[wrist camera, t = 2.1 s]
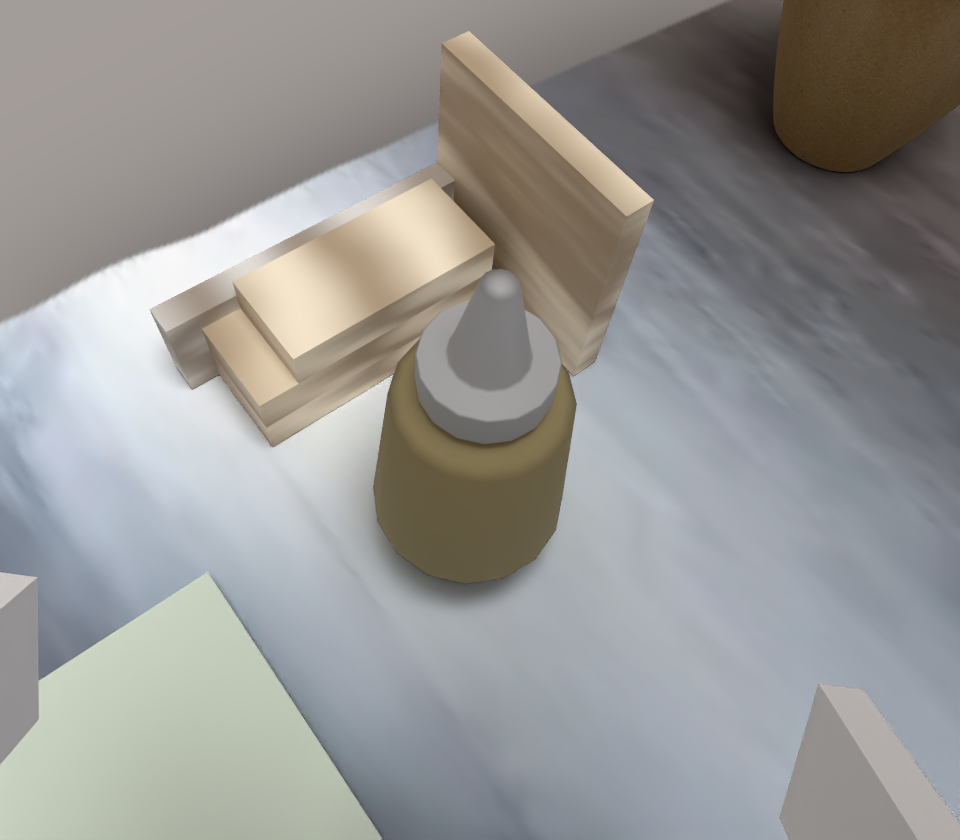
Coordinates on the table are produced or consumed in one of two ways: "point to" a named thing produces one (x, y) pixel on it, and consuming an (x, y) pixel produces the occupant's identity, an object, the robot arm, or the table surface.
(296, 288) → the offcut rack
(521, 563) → the squeeze bottle
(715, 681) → the table surface
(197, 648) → the sage mat
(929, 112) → the plant pot
